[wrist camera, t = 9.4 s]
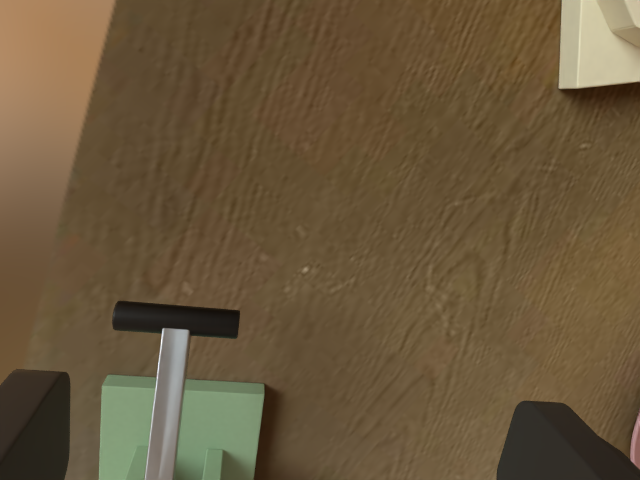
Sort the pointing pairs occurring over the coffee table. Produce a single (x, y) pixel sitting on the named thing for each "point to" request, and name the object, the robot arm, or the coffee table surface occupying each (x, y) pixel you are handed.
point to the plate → (636, 443)
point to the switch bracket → (182, 429)
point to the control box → (599, 43)
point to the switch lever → (171, 367)
